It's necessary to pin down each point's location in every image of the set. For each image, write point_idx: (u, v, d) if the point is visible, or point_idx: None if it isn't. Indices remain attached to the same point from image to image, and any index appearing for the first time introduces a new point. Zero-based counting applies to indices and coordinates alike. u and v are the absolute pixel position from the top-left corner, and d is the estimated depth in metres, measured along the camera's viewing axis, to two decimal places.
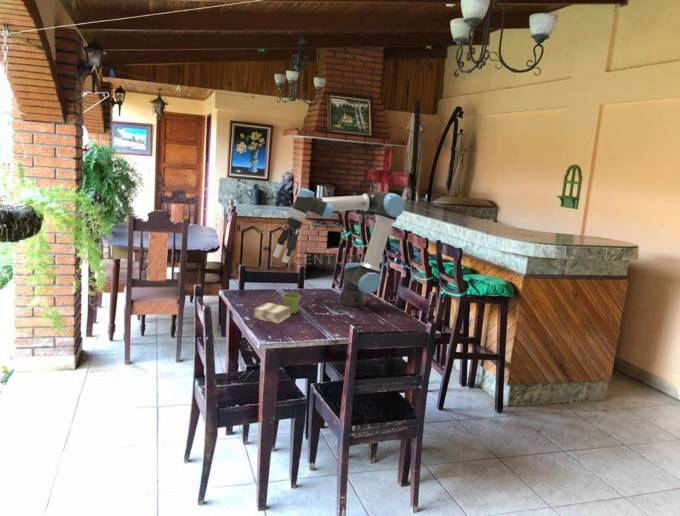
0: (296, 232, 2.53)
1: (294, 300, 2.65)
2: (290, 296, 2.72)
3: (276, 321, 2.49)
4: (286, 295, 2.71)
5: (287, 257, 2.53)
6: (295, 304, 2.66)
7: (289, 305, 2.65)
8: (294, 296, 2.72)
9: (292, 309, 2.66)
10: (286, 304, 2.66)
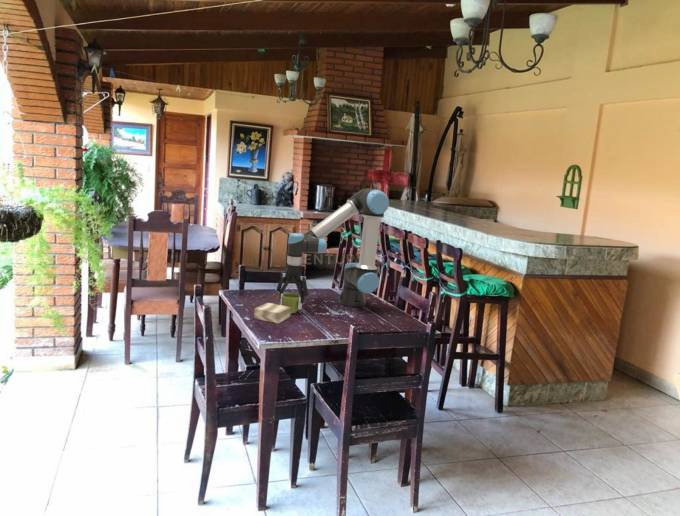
0: (305, 279, 2.64)
1: (294, 300, 2.64)
2: (290, 296, 2.72)
3: (276, 321, 2.49)
4: (286, 295, 2.71)
5: (301, 303, 2.67)
6: (295, 304, 2.66)
7: (289, 305, 2.65)
8: (294, 296, 2.72)
9: (292, 309, 2.66)
10: (286, 304, 2.66)
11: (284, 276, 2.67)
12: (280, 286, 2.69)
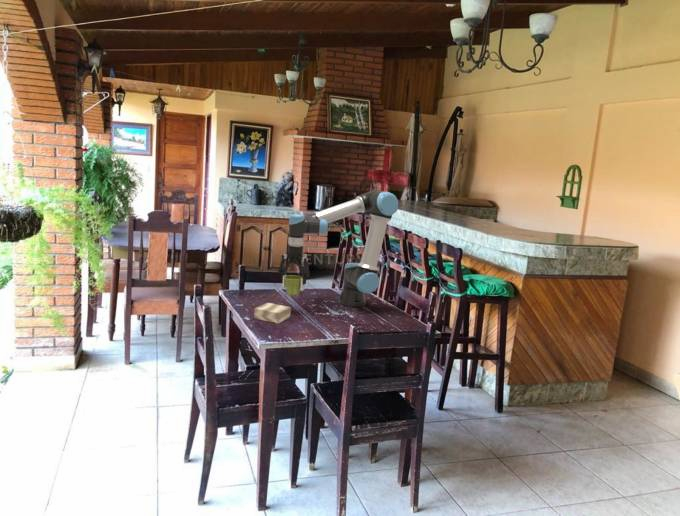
0: (307, 260, 2.62)
1: (296, 281, 2.63)
2: (292, 278, 2.70)
3: (276, 321, 2.49)
4: (288, 277, 2.69)
5: (303, 285, 2.65)
6: (297, 285, 2.64)
7: (291, 287, 2.64)
8: (296, 278, 2.70)
9: (294, 291, 2.64)
10: (288, 286, 2.64)
11: None
12: (282, 268, 2.68)
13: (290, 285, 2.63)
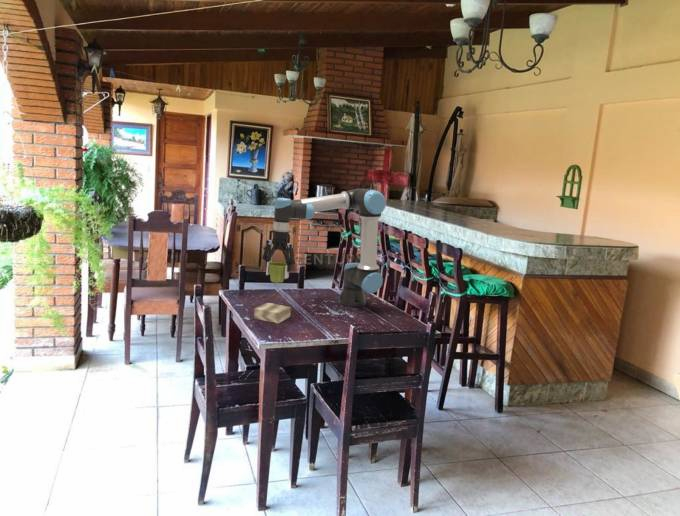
0: (292, 246, 2.51)
1: (280, 268, 2.51)
2: (277, 265, 2.59)
3: (276, 321, 2.49)
4: (272, 264, 2.58)
5: (287, 272, 2.54)
6: (281, 273, 2.53)
7: (275, 273, 2.52)
8: (281, 265, 2.59)
9: (278, 278, 2.53)
10: (272, 272, 2.53)
11: (270, 243, 2.54)
12: (266, 254, 2.56)
13: (274, 272, 2.52)
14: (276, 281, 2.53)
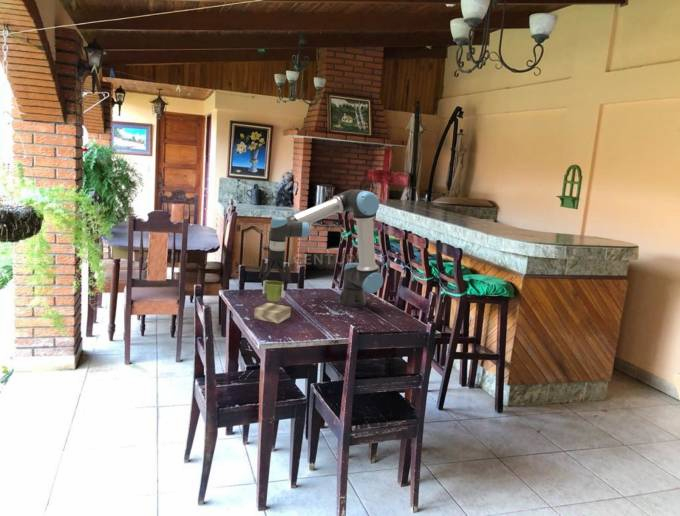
0: (288, 265, 2.50)
1: (277, 287, 2.51)
2: (273, 283, 2.58)
3: (276, 321, 2.49)
4: (269, 282, 2.57)
5: (284, 291, 2.53)
6: (278, 291, 2.52)
7: (271, 292, 2.52)
8: (277, 283, 2.58)
9: (275, 297, 2.52)
10: (268, 291, 2.52)
11: (266, 262, 2.54)
12: (262, 273, 2.56)
13: (270, 291, 2.52)
14: (273, 300, 2.53)
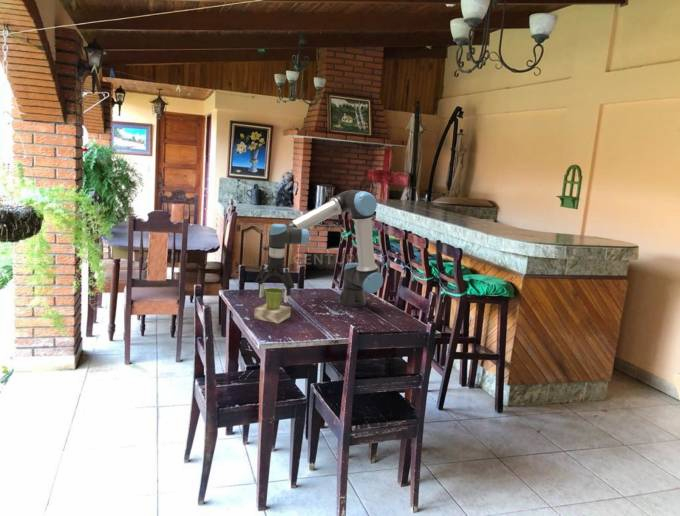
0: (288, 270, 2.51)
1: (276, 295, 2.52)
2: (273, 291, 2.59)
3: (276, 321, 2.49)
4: (268, 290, 2.58)
5: (287, 296, 2.53)
6: (277, 299, 2.53)
7: (271, 300, 2.52)
8: (277, 291, 2.59)
9: (274, 304, 2.53)
10: (268, 299, 2.53)
11: (266, 268, 2.55)
12: (260, 277, 2.57)
13: (270, 299, 2.52)
14: (272, 308, 2.54)
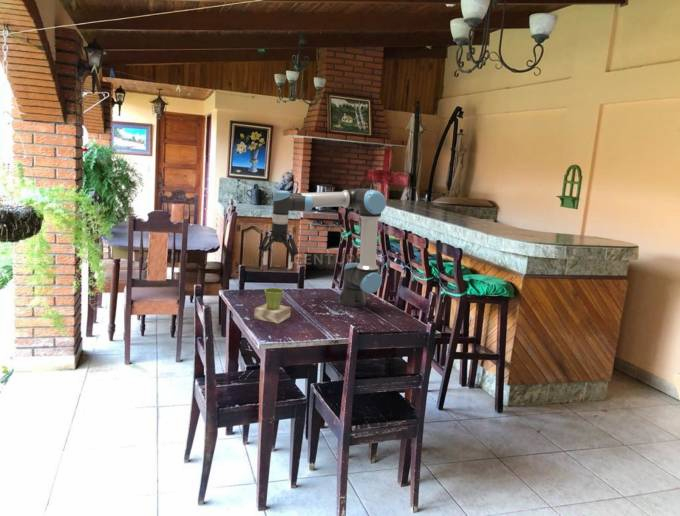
0: (292, 236, 2.51)
1: (276, 295, 2.52)
2: (273, 291, 2.59)
3: (276, 321, 2.49)
4: (268, 290, 2.58)
5: (291, 262, 2.54)
6: (277, 299, 2.53)
7: (271, 300, 2.52)
8: (277, 291, 2.59)
9: (274, 304, 2.53)
10: (268, 299, 2.53)
11: (269, 235, 2.55)
12: (263, 245, 2.57)
13: (270, 299, 2.52)
14: (272, 308, 2.54)
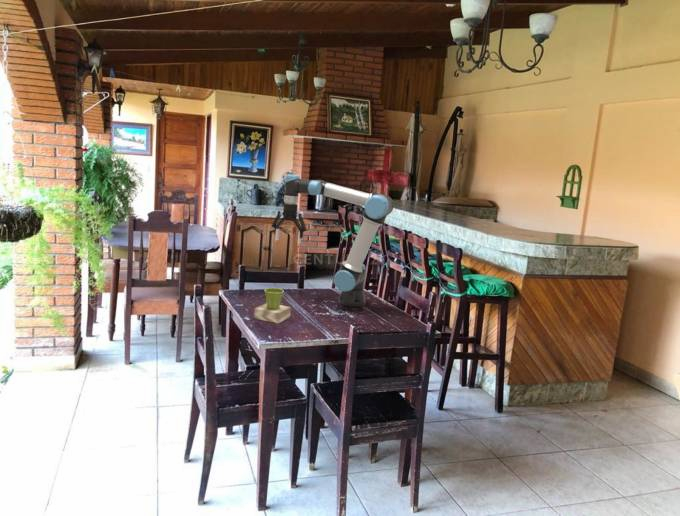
0: (301, 215, 2.84)
1: (276, 295, 2.52)
2: (273, 291, 2.59)
3: (276, 321, 2.49)
4: (268, 290, 2.58)
5: (300, 239, 2.87)
6: (277, 299, 2.53)
7: (271, 300, 2.52)
8: (277, 291, 2.59)
9: (274, 304, 2.53)
10: (268, 299, 2.53)
11: (281, 214, 2.88)
12: (276, 223, 2.90)
13: (270, 299, 2.52)
14: (272, 308, 2.54)
